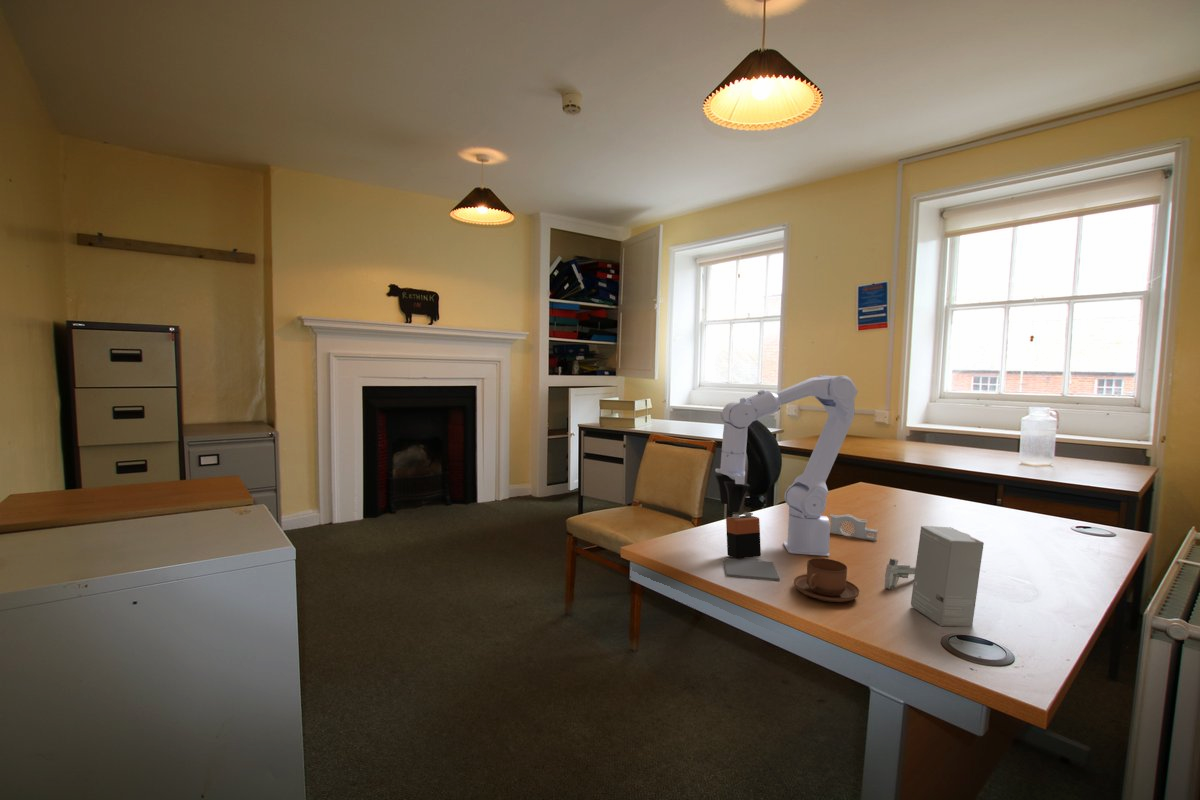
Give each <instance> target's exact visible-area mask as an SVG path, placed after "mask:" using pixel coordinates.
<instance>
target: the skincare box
mask: <svg viewBox="0 0 1200 800" xmlns="http://www.w3.org/2000/svg"><path fill="white" fill-rule="evenodd" d="M984 545H985V543H984V542H983V541H982V540H979V539H977V538H975V537H973V536H971V534H969V533H965V532H962V531H959V530H958V529H955V528H954V527H951V526H949V527H948V526H933V525H921V526H920V533H919V541H918V546H917V555H916V561H915V562H916V563H915V566H916V569H915V574H914V576H913V583H912V584H913V585H912V591H911V592H912V594H911V599H910V605H911V607H912V608H913V609H914V610H917V611H918V612H920V613H921V614H922V615H924V616H926V617H927V618H928V619H930V620H931V621H933V622H934V623H936V624H938V625H939V626H940V627H941V626H942V627H943V626H944V627H949V626H950V627H953V626H957V627H970V626H971V627H972V626H973V623H974V617H975V616H974V615H975V609H976V603H977V596H978V595H977V594H978V588H979V582H980V581H979V580H980V579H979V578H980V571H981V566H982V565H981V564H982V558H983V551H984Z"/></svg>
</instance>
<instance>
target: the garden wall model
mask: <svg viewBox="0 0 1200 800" xmlns="http://www.w3.org/2000/svg"><path fill="white" fill-rule="evenodd" d="M829 517H830V534H835V535H840V536H841V535H842V536H844V537H852V538H857V539H862V540H869V541H875V542H877V541H878V533H879V529H874V528H869V527H867V523H868V519H862V518H861V519H860V518H858V517H855V516H854V515H852V514H848V513H847V514H842V515H841V514H840V515H837V514H836V515H835V514H833V513H830V514H829Z"/></svg>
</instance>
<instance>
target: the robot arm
mask: <svg viewBox="0 0 1200 800" xmlns="http://www.w3.org/2000/svg"><path fill="white" fill-rule="evenodd" d="M858 392H859V391H858V388H857V386H856V385H855V383H854V381H853V380H852V379H851V378H850V377H849V376H847V375H827V374H821V375H818V376H814V377H810V378H807V379H805V380H803V381H801V382H797V383H796V384H793V385H791V386H789V387H786V388H784V389H781V390H779V391H777V392H775V393H774V392H772V391H771V390H763V389H762V390H758V391H757V394H755V395H752V396H749V397H746V398H745V397H741V398H739V402H734V401H733V402H728V403H727V404H726V405H725V406H724V407H723V408H722V410H721V412H720V418H721V420H722V423H723V433H722V441H721V442H722V443H721V445H722V446H721V453H720V454H721V456H720V468H715V470H714V471H715V474H714V476H715V479H716V481H717V482H716V483H717V485H718V490H719V498H720V503H721V504H722V505H727V507H728V512H730V513H739V512H740V510H741V504H742V503H743V499H744V497H745V495H746V493H747V492H748V490H749V488H750V486H751V485H750V484H748V483H746V482H745V479H746V471H745V470H746V469H745V468H746V456H747V443H748V429H749V428H748V427H749V426H750V425H751V424H752V423H753V422H755V421H759V420H760V419H763V418H766V417H769V416H771V415H773V414H775V413H777V412H778V411H779V409H780V407H781V406H783V405H786V404H789V403H792V402H795V401H797V400H801V399H805V398H807V397H814V398H815V399H816V400H817V401H818V402H819V403H820V404H821V405H822V406H823V407H824V409H825V411H826V413H827V416H828V417H827V419H826V421H825V422H824V423H825V424H824V425H823V428H822V430H821V432H820V434H819V436H818V439H817V441H816V444H815V446H814V448H813V450H812V453H811V455H810V457H809V460H808V461H807V464H806V467H805V468H804V471H803V473H802V474H799V475H798V476H797V477H795V479H794V481H793V483H791V485H789V486H788V487H787V489H786V490H785V493H784V500H785V503H786V504H787V506H788V521H787V522H788V523H787V524H788V525H787V541H783V542H782V543H783V545H784V547H785V550H787V552H788V554H795V555H807V556H808V555H810V556H821V557H822V556H825V557H830V555H831V554H830V542H831V541H830V539H831V538H830V537H831V535H830V534H831V533H830V530H831V522H830V519H829V517H828V516H827V515H823V513H824V512H825V510H826V508H827V496H828V495H829V489H828V486H827V484H826V483H827V479H828V478H829V475H830V473H831V470H832V467H833V466H834V464H835V461H836V459H837V457H838V454H839V452H840V450H841V449H842V446H843V444H844V441H845V439H846V436H847V434H848V431H849V429H850V428H851V425H852V423H853V420H854V418H855V399H856V396H857V394H858ZM716 473H717V474H716Z"/></svg>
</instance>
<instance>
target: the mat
mask: <svg viewBox="0 0 1200 800" xmlns="http://www.w3.org/2000/svg"><path fill="white" fill-rule="evenodd" d="M723 563H724V564H723V565H724V570H725V575H726V577H728V578H729V577H730V578H738V579H740V578H742V579H752V580H753V579H754V580H755V579H756V580H762V581H763V580H766V581H767V580H768V581H778V582H780V581H781V578H780V575H779V573H778V571H777V569H776V566H775V564H774V562H773V561H767V560H764V561H763V560H754V559H753V560H751V559H750V560H749V559H736V558H726V557H724V558H723Z"/></svg>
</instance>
